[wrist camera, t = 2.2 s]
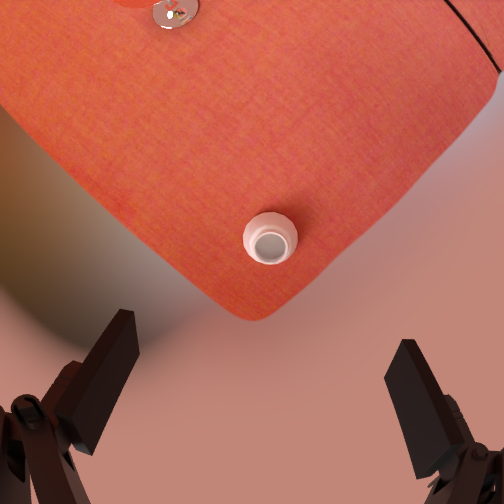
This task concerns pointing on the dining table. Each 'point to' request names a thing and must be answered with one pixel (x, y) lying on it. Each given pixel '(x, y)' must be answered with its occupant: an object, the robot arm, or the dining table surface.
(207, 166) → the dining table surface
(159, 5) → the wineglass
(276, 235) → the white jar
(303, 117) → the dining table surface
